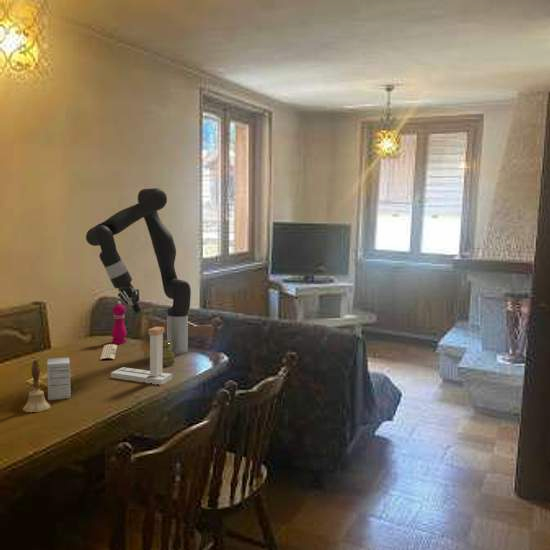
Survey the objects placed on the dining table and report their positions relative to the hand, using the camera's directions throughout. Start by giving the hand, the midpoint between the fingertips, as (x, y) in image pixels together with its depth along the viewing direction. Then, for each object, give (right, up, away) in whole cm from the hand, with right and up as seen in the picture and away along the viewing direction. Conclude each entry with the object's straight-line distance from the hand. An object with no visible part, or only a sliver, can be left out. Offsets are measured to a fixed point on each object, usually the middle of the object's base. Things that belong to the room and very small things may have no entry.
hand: (138, 312), depth 223 cm
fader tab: (+10, -23, -10) cm, 27 cm away
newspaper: (-19, -21, +26) cm, 38 cm away
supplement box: (-20, -27, -30) cm, 45 cm away
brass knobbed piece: (+9, -23, +12) cm, 27 cm away
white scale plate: (+3, -25, -8) cm, 27 cm away
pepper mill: (-20, -18, +45) cm, 52 cm away
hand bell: (-23, -29, -42) cm, 55 cm away
